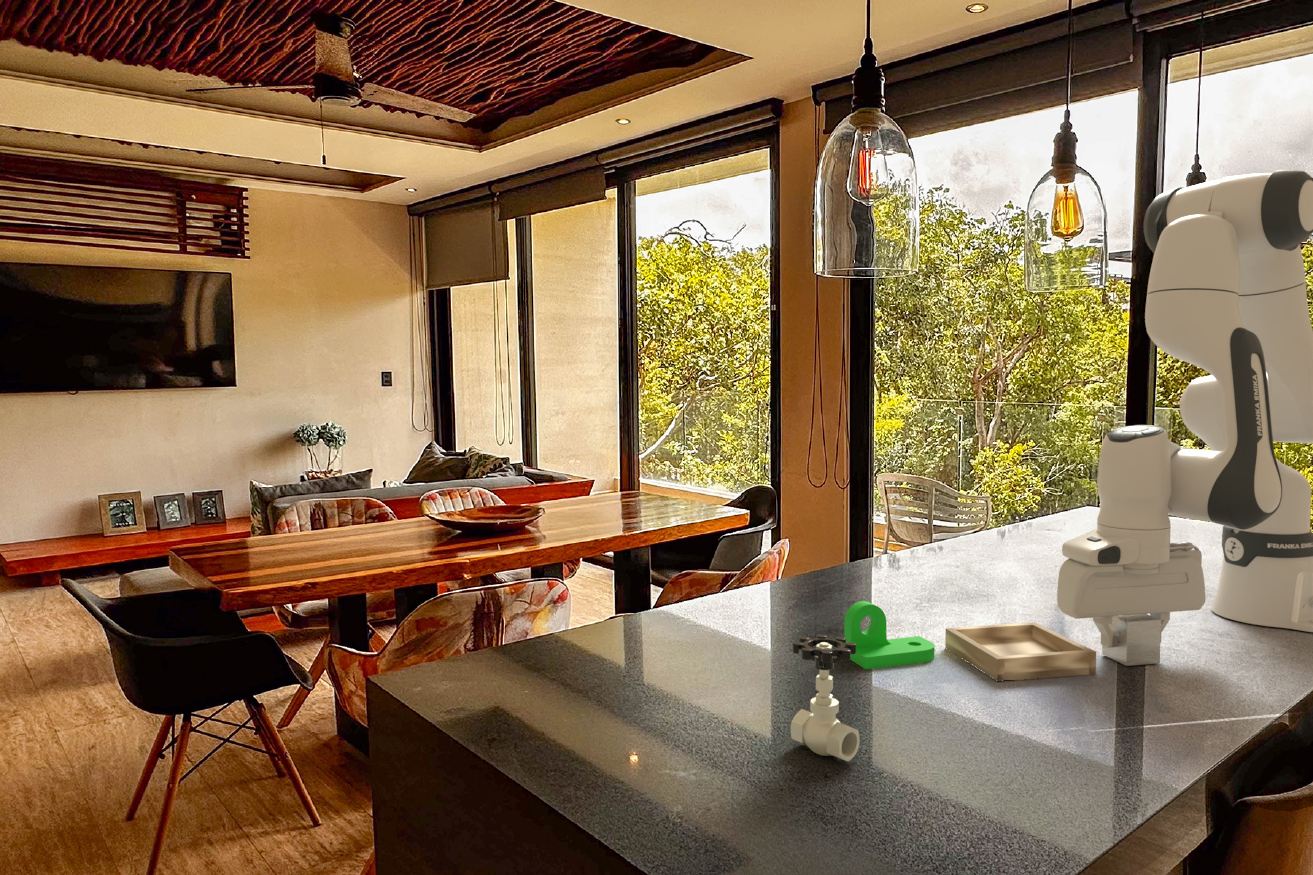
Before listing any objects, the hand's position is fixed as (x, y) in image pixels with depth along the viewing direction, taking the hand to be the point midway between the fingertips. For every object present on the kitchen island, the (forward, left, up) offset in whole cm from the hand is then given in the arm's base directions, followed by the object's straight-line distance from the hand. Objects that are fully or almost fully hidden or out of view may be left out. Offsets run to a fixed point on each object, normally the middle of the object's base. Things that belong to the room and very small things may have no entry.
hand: (1130, 644), depth 122 cm
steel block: (0, 0, -2) cm, 2 cm away
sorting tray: (+15, -3, -2) cm, 16 cm away
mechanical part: (+31, -7, -3) cm, 32 cm away
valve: (+51, +20, -2) cm, 55 cm away
